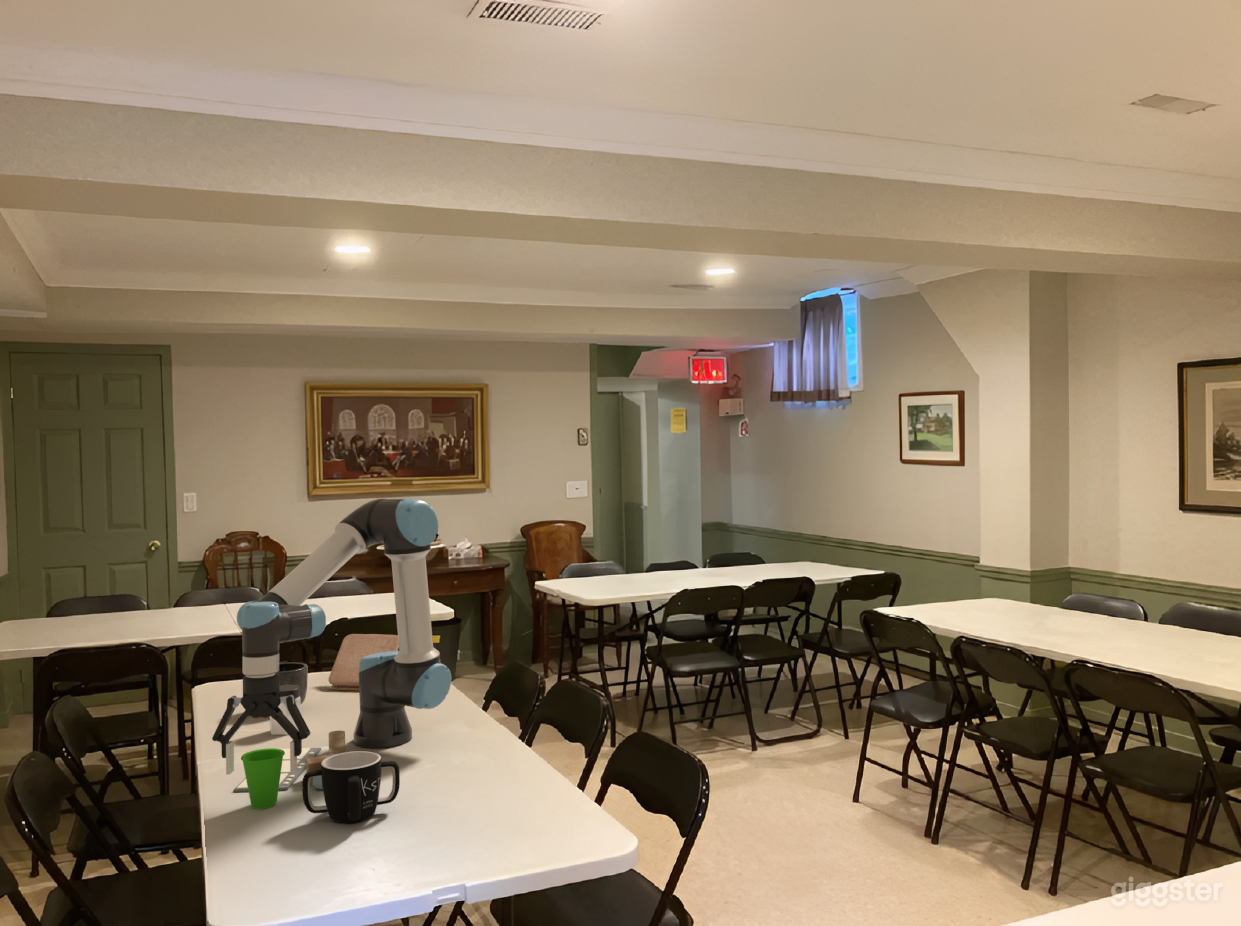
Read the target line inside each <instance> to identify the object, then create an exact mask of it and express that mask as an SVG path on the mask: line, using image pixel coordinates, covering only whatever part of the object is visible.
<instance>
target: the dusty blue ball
mask: <svg viewBox="0 0 1241 926" xmlns="http://www.w3.org/2000/svg"><path fill="white" fill-rule="evenodd" d="M312 786H314V788H316V789H317V790H323V787H322V777H321V776H317V777H314V778H313V785H312Z"/></svg>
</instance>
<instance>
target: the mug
mask: <svg viewBox="0 0 1241 926" xmlns="http://www.w3.org/2000/svg"><path fill="white" fill-rule="evenodd" d="M384 768H391V772H392V785H391V791H390V793H389V795H386V796H382V797H380V789H381V782H382V781H381V780H382V769H384ZM317 776H321V777H322V787H323V789H322V792H323V798H324V803H325V805H314V804H313V802H312V800H311V785H310V778H311V777H317ZM400 776H401V775H400V766H399V764H398V763H397V762H396V761H394V760H391V761H389V760H387V761H385V760H384V761H382V756H381V755H380V754H379V753H376V752H372V751H363V750H361V751H360V750H357V751H348V752H347V751H345V753H340V754H336V755H333V756H330V757H328V758H326V759H324V760H323V761H322V763H321V769H320V770H315V771H310V772H307V771H306V772H305V773H304V775H303V777H302V780H301V781H302V782H301V783H302V785H301V787H302V788H301V791H302V800H303V805H304V807H306V809H307V811H308V812H309V813H312V814H325V813H328V816H329V818H330V820H331V821H333V822H336V823H341V824H350V823H359V822H362V821H366V820H368V819H370V818H371V817H373V815H375V813H376V810H377V807H378V806H380V805H386V804H391V803H393V801H394V800H395V799H396V798H397V795H398V794H399V792H400V785H401V784H400V783H401V782H400V781H401V779H400V778H401V777H400Z"/></svg>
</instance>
